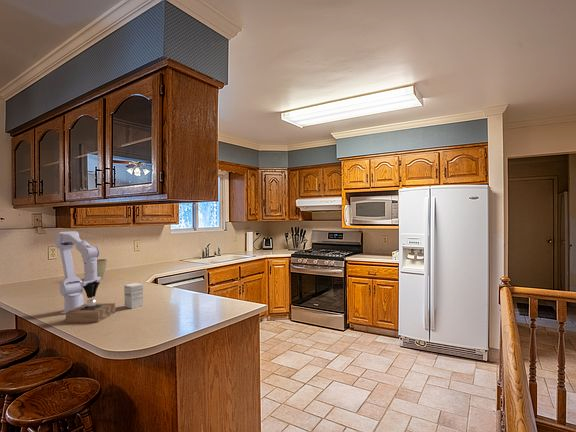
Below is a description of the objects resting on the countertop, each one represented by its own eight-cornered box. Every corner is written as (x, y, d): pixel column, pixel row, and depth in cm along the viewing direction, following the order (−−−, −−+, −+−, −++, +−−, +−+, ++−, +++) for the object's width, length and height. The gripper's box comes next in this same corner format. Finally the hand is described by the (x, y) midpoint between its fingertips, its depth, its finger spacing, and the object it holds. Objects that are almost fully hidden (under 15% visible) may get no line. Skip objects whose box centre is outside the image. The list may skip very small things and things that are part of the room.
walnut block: (85, 312, 178) (85, 302, 178) (115, 312, 178) (115, 302, 178) (65, 322, 162) (65, 311, 162) (98, 322, 162) (98, 311, 162)
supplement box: (124, 307, 188) (123, 284, 188) (136, 304, 195) (135, 282, 194) (131, 309, 184) (131, 286, 184) (143, 305, 191) (143, 283, 190)
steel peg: (90, 308, 172) (89, 298, 172) (97, 308, 172) (97, 298, 172) (85, 310, 168) (85, 301, 168) (93, 310, 168) (93, 300, 168)
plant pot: (92, 278, 276) (91, 259, 276) (110, 277, 277) (110, 258, 277) (82, 282, 261) (81, 262, 261) (101, 281, 262) (101, 261, 262)
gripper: (90, 273, 163) (90, 300, 163) (106, 268, 177) (106, 293, 178) (75, 273, 163) (76, 301, 163) (92, 268, 177) (93, 293, 178)
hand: (91, 297), depth 170 cm, fingers closed
